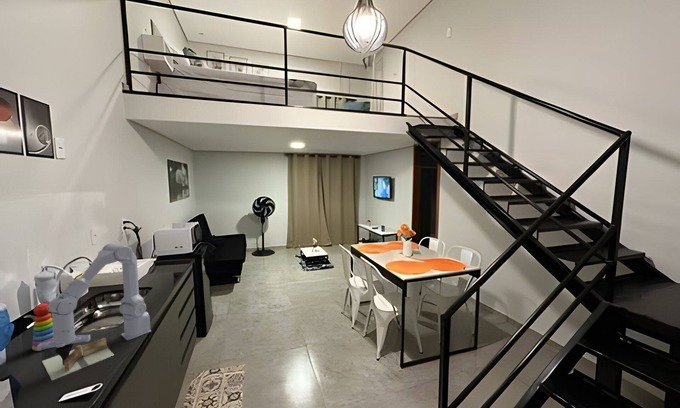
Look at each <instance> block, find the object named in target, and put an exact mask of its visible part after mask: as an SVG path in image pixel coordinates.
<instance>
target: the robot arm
mask: <svg viewBox="0 0 680 408" xmlns="http://www.w3.org/2000/svg"><path fill="white" fill-rule="evenodd" d="M117 262H119V263H120V264H121V267H122V269H121V271H122V281H123V298H121V300H120V305H119V308H118V309H119V312H120V314H122V317H123V327H124V328H123V329H124V330H123V331H124V332H123V333H121V334H120V335H121V337H123V338H124V339H125V340H126V341H130V340H133V339H135V338H138V337H140V336H143V335H145V334H148V333H151V332H152V330H151V319H150V318H151V317H150V315H149V312H148V311H146V310H147V304H146V303H145V299H144V298H143V296H142V295H140V290H139V287H140V286H139V272H138V257H137V256H136V254H135V253H134V251H133V248H132V247H130V246H128V245H126V244H123V245H122V244H114V243H108V244H105V245H104V246H103V247H102V248H101V250H99V251H98V253H97V256H96V258H95V259H94V260H93V262H91V264H90V265H89V266H88V267H87V269H86V270H85V271H84V273H83V274H82V275H81V276H80V277H77V278H74V279H73V280H70V282H69V283H68V286H66V288H65V289H64V290H63V291H62V292H61V293H60V294H59V295H58V296H57V297H56V298H53V299H52V300H51V301H50V302H49V303H48V304H49V307H47V309H48V311H49V313H50V314H51V318H52V324H53V337H54V340H51V341H48V342H44V343H40V344H39V345H38V346H37V349H38V351H37V352H39V351H43V350H42V349H44V350H48V349H50V348H51V349H52V348H55V350H54V352H55V353H56V354H57V356H58V355H60V357H61V358H62V363H63V365H64V361H65V359H66V358H67V357H68V356H69V353H70V351H72V348H73V346H74V344H78V343H83V342H85V343H90V341H91V334H81V335H80V334H79V335H76V332H75V319H74V318H75V317H74V311H75V310H76V309H77V306H78V302H79V299H81V297H82V296H83V295H84V294H85V292H86V291H87V290H88V289H89V288H90V287H91V281H92V280H93V279H94V278H95V277H96V275H98V274H99V272H100V271H101V270H102V269H103V268H104V267H105V266H107V265H109V264H114V263H117Z"/></svg>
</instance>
